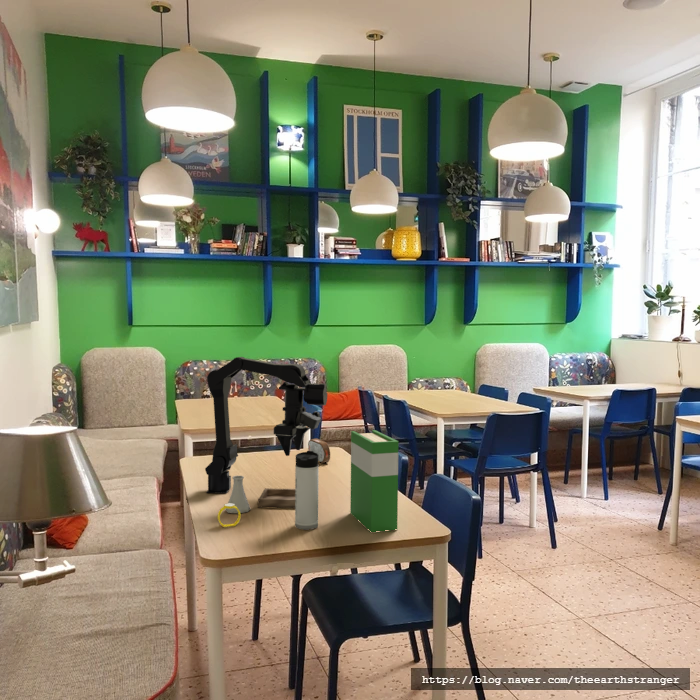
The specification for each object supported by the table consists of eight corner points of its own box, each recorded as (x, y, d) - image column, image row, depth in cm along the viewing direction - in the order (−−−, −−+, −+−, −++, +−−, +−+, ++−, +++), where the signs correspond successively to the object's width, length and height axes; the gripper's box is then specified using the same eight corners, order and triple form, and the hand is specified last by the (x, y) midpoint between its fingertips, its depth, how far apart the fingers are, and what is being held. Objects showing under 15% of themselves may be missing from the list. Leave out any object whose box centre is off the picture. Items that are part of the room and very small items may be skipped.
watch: (238, 524, 171) (240, 502, 171) (240, 527, 169) (242, 505, 169) (216, 525, 169) (218, 503, 169) (218, 528, 167) (219, 506, 166)
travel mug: (321, 523, 172) (321, 451, 171) (314, 530, 166) (314, 456, 165) (299, 521, 173) (299, 450, 172) (291, 529, 167) (292, 454, 166)
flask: (250, 513, 180) (250, 479, 179) (225, 514, 179) (225, 480, 178) (250, 506, 187) (250, 473, 187) (225, 507, 186) (225, 474, 185)
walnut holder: (258, 507, 186) (258, 499, 186) (265, 496, 198) (265, 488, 198) (298, 508, 186) (298, 499, 185) (302, 496, 198) (302, 488, 197)
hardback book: (350, 513, 181) (351, 431, 180) (374, 511, 184) (375, 430, 182) (371, 533, 164) (372, 442, 163) (397, 530, 167) (398, 441, 166)
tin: (330, 464, 243) (331, 443, 242) (323, 465, 241) (323, 443, 241) (313, 457, 256) (313, 436, 255) (306, 457, 254) (306, 437, 254)
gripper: (307, 409, 186) (306, 461, 187) (327, 401, 204) (326, 449, 205) (273, 407, 189) (272, 458, 190) (295, 399, 207) (294, 446, 208)
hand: (293, 452), depth 198 cm, fingers open, 9 cm apart
